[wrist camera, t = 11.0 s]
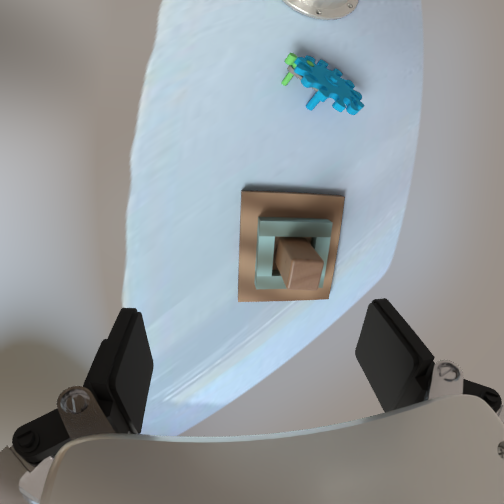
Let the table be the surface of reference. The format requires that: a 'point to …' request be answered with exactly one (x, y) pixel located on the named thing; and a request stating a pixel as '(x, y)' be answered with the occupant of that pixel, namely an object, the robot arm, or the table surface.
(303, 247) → the wooden block
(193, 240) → the table surface
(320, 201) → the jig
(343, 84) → the gear
